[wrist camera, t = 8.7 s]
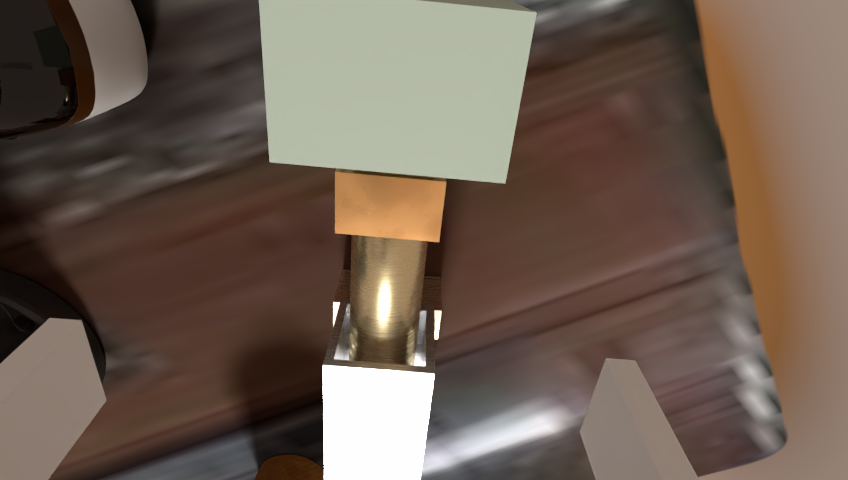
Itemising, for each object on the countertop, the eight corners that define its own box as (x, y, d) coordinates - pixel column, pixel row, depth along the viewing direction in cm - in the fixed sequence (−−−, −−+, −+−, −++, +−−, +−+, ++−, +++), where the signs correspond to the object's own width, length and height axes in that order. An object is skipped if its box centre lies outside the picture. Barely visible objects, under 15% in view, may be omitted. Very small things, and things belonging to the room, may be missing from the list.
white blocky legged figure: (341, 369, 40) (316, 482, 31) (343, 265, 35) (313, 364, 26) (428, 376, 40) (426, 490, 31) (441, 273, 35) (444, 374, 26)
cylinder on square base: (348, 360, 34) (334, 427, 29) (355, 53, 24) (335, 75, 19) (418, 366, 34) (416, 433, 29) (452, 63, 24) (457, 87, 19)
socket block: (328, 92, 29) (269, 162, 19) (328, -23, 26) (257, -16, 16) (479, 106, 29) (505, 183, 19) (495, -6, 26) (536, 12, 16)
